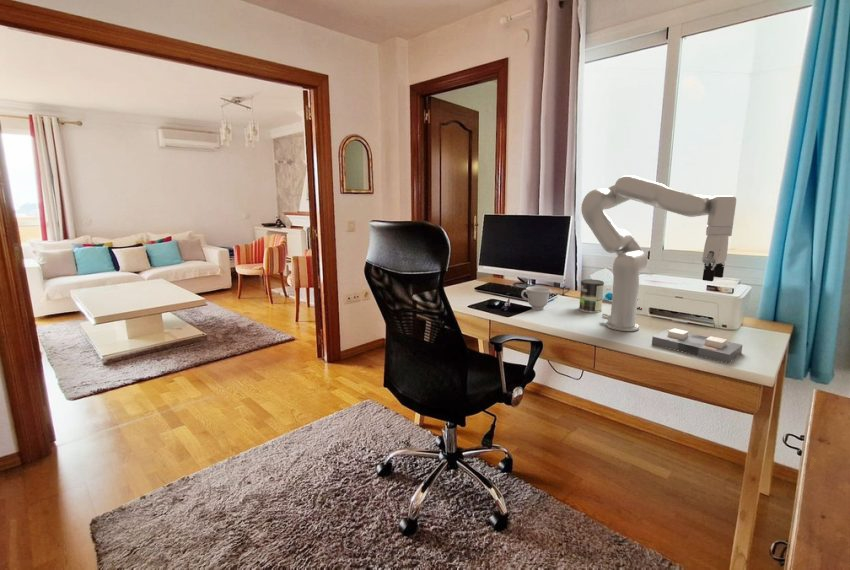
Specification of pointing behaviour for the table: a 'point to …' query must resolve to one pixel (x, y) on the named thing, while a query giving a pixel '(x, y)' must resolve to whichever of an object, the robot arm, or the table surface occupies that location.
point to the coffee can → (591, 295)
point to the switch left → (678, 334)
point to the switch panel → (698, 346)
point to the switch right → (716, 342)
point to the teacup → (537, 296)
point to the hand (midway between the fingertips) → (712, 278)
